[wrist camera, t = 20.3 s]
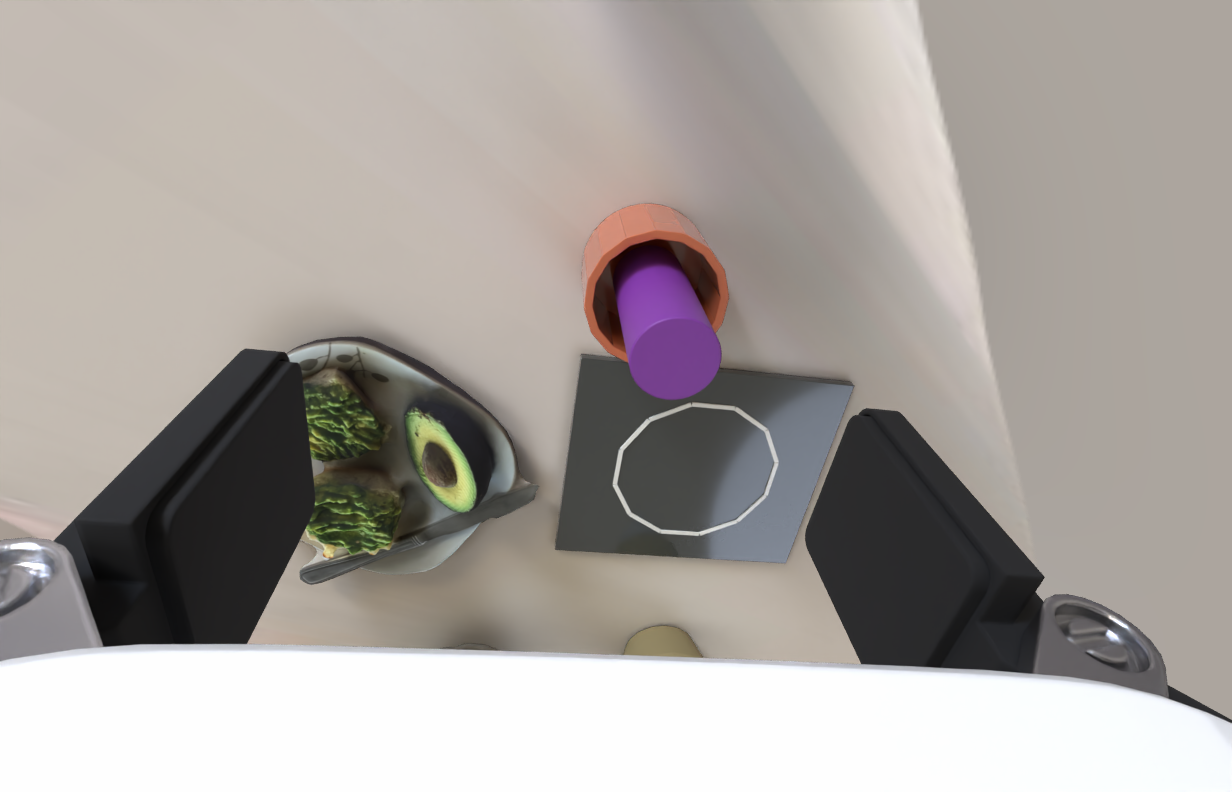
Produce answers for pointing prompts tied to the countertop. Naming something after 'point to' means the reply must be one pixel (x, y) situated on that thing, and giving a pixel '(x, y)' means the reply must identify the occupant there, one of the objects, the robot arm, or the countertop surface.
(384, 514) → the salad plate
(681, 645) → the squeeze bottle
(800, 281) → the countertop surface
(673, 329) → the cylinder
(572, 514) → the slate board
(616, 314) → the pen pot
